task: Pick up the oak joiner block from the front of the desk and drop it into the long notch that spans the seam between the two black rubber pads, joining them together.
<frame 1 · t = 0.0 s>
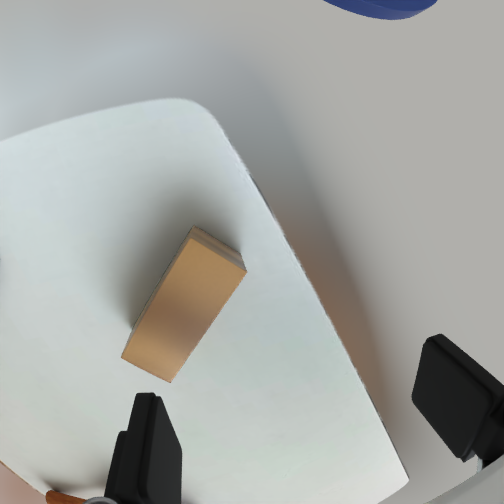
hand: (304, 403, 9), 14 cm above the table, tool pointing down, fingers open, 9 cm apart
kendama: (100, 492, 29), on the table
joiner: (182, 294, 23), on the table
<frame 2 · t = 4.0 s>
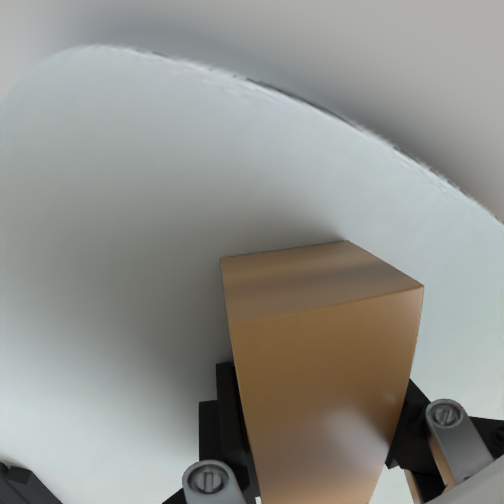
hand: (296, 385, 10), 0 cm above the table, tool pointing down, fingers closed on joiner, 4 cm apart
joiner: (294, 380, 11), on the table, touching gripper
pad a: (27, 501, 12), on the table
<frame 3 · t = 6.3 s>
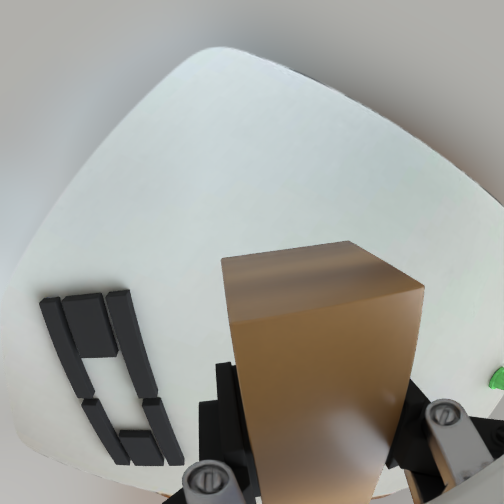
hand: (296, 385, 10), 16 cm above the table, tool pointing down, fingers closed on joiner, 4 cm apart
game piece: (496, 376, 37), on the table
joiner: (295, 380, 11), point 15 cm above the table, touching gripper
pad a: (100, 347, 26), on the table
pad b: (136, 432, 29), on the table
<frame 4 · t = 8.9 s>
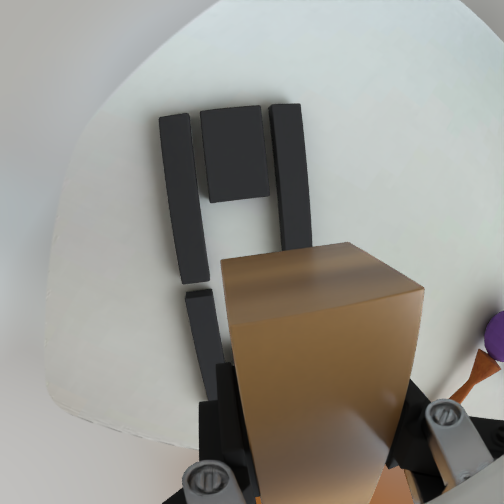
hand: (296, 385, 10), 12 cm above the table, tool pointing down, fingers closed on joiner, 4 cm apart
kendama: (458, 372, 29), on the table
joiner: (294, 381, 11), point 12 cm above the table, touching gripper
pad a: (237, 191, 20), on the table
pad b: (255, 347, 24), on the table
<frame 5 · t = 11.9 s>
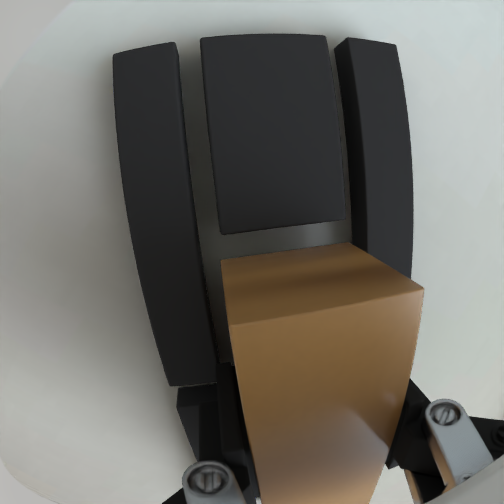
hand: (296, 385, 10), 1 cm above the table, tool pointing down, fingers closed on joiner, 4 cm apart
joiner: (294, 381, 11), point 1 cm above the table, touching gripper
pad a: (277, 208, 10), on the table
pad b: (292, 450, 13), on the table
when the fingers open (2 cm above the table, at t = 14.1 s): joiner drops 1 cm, on the table.
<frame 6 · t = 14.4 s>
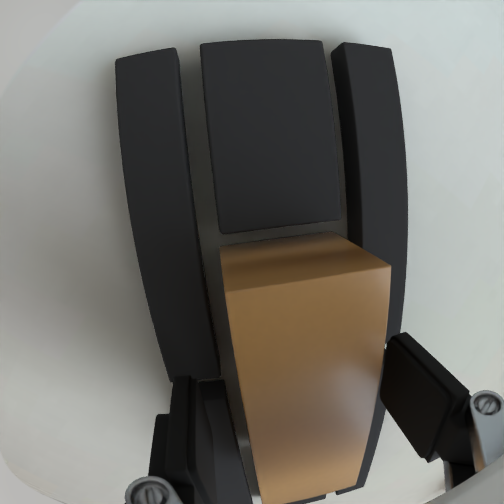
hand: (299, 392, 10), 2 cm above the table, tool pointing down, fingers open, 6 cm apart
joiner: (286, 359, 12), on the table
pad a: (274, 208, 10), on the table
pad b: (290, 446, 14), on the table
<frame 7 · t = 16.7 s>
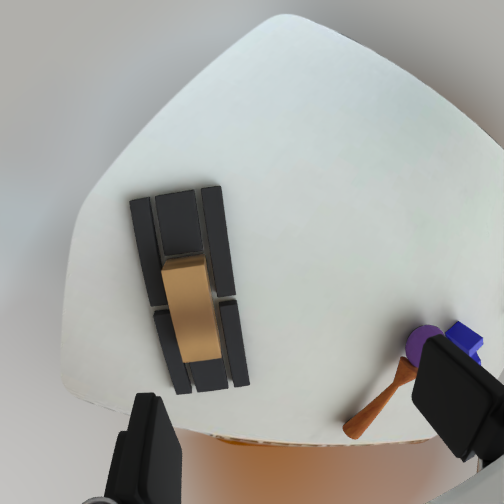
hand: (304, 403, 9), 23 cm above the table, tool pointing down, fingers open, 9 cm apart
kendama: (386, 376, 39), on the table
cable clip: (459, 347, 41), on the table
joiner: (194, 301, 33), on the table
pad a: (183, 246, 31), on the table
pad b: (204, 348, 34), on the table
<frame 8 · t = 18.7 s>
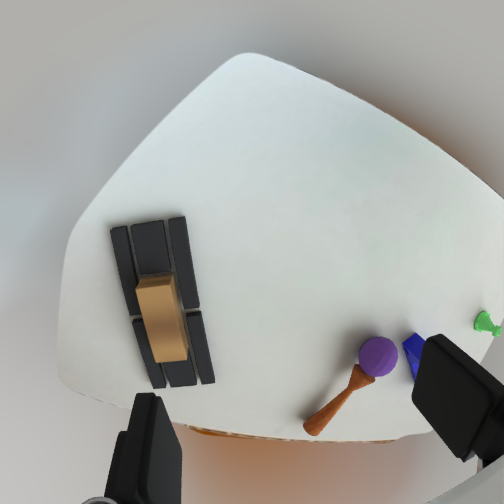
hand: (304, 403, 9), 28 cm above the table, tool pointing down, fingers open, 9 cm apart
kendama: (343, 380, 45), on the table
cable clip: (418, 357, 47), on the table
game piece: (480, 320, 47), on the table
joiner: (165, 311, 38), on the table
pad a: (155, 266, 36), on the table
pad b: (175, 350, 40), on the table
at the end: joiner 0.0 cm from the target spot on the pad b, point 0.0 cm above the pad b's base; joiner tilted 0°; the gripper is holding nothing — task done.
